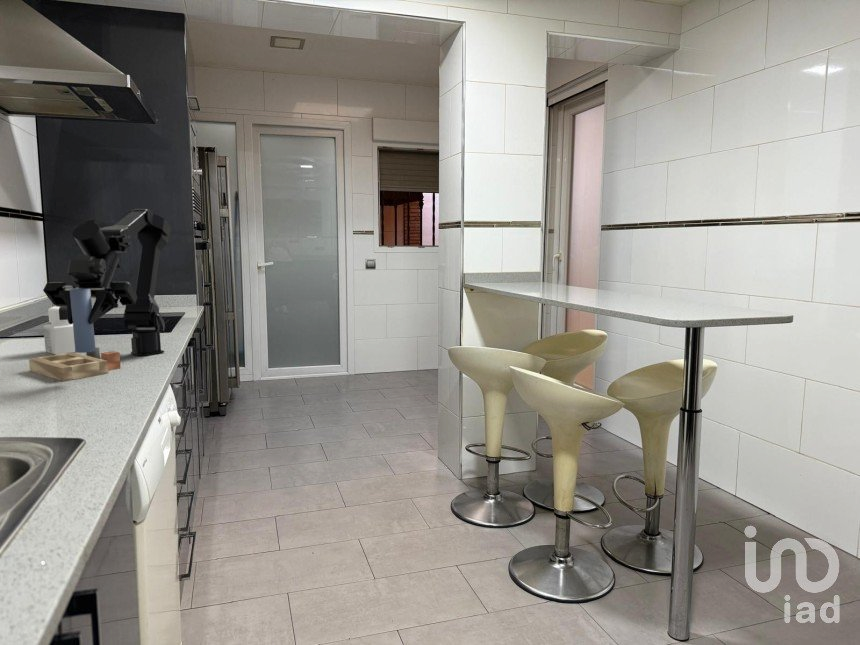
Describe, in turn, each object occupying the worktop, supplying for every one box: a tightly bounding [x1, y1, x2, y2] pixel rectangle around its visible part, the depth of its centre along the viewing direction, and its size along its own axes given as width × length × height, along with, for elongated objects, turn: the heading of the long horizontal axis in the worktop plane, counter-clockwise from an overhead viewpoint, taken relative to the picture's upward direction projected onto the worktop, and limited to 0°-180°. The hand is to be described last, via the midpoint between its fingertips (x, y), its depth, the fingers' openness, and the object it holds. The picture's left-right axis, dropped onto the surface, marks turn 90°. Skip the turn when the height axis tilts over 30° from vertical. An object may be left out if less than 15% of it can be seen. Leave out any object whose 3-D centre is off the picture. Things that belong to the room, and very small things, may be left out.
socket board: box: [28, 347, 122, 382], centre depth 148 cm, size 14×18×4 cm
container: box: [42, 305, 76, 355], centre depth 172 cm, size 8×8×13 cm
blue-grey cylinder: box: [70, 288, 97, 354], centre depth 136 cm, size 4×4×14 cm
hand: (79, 323), depth 135 cm, fingers closed on blue-grey cylinder, 4 cm apart
